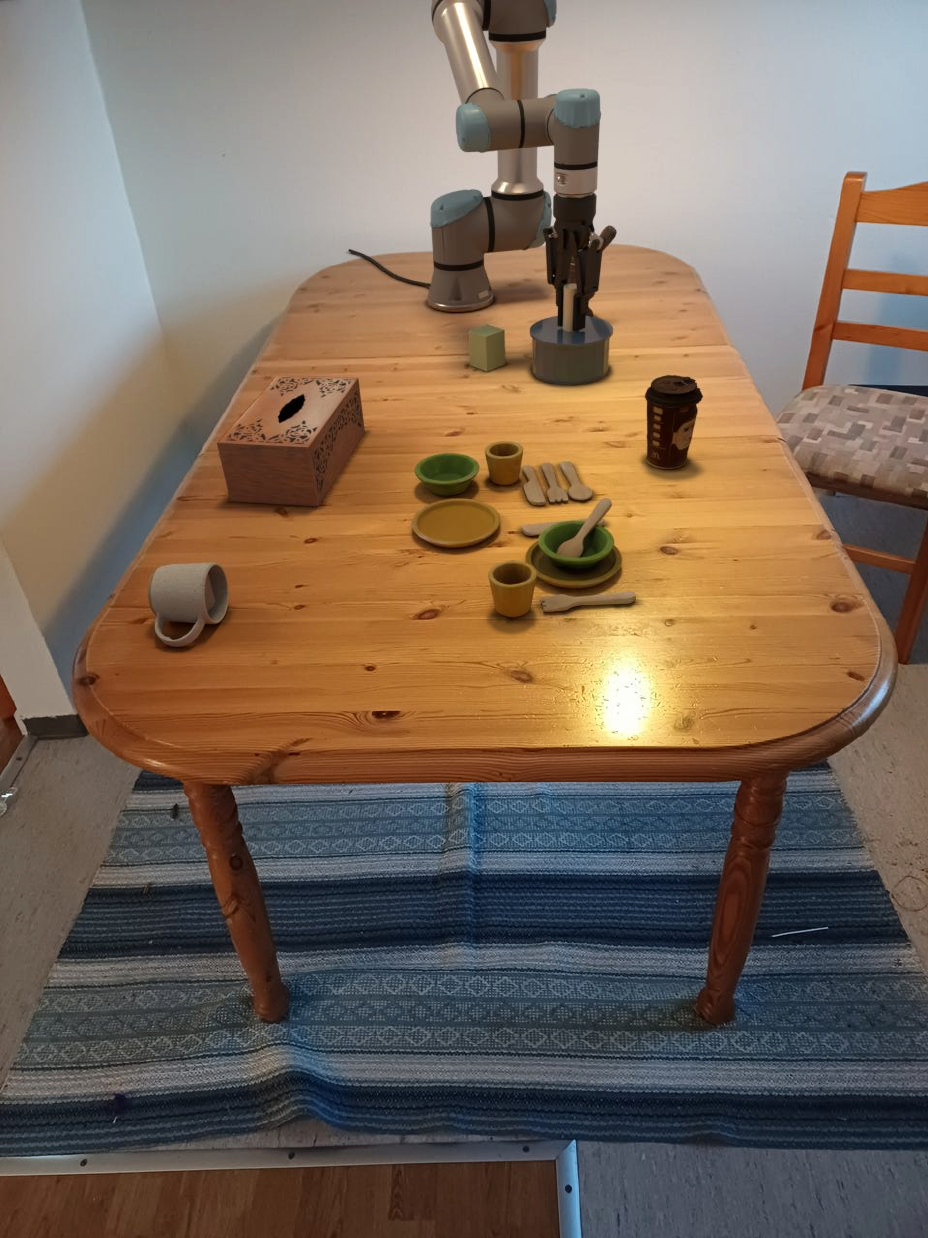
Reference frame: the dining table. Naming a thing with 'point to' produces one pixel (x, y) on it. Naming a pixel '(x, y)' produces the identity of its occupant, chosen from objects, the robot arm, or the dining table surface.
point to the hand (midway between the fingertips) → (571, 326)
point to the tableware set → (561, 549)
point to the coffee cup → (670, 420)
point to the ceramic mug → (188, 597)
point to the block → (487, 347)
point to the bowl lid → (570, 327)
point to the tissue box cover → (292, 440)
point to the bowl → (570, 363)
